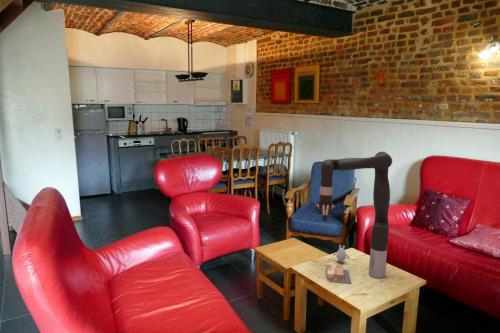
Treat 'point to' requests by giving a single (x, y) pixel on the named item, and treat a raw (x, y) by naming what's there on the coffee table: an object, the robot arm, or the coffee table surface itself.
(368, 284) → the coffee table surface
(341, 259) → the toy figure
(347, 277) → the felt mat
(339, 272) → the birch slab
